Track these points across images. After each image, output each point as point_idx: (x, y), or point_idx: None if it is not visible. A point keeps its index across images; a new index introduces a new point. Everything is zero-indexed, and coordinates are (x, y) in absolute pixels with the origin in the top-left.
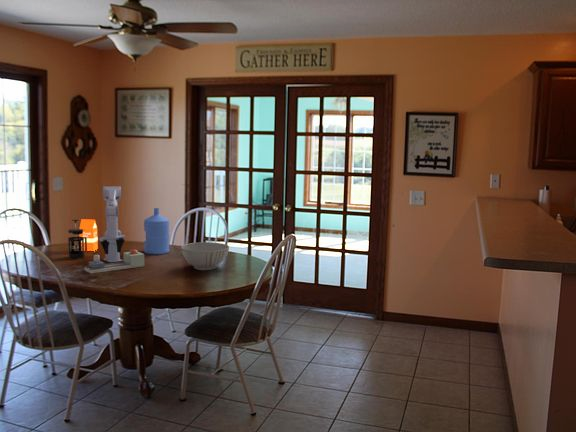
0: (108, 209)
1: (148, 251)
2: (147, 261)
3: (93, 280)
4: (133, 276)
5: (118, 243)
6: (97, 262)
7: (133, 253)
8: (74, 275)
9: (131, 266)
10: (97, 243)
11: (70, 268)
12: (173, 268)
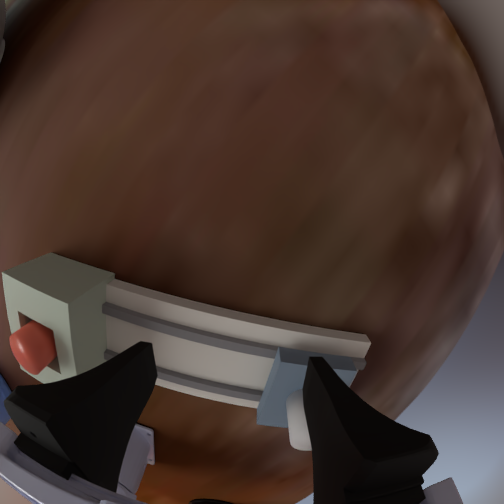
0: None
1: (4, 390)
2: None
3: (448, 188)
4: (238, 73)
5: (109, 434)
6: None
7: (40, 333)
8: (427, 348)
9: (107, 275)
10: None
11: None
12: (12, 115)
